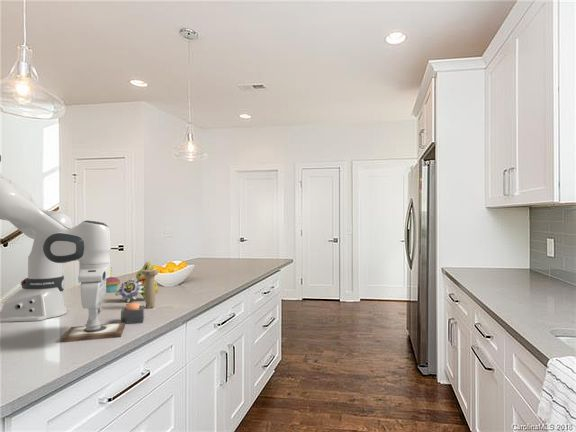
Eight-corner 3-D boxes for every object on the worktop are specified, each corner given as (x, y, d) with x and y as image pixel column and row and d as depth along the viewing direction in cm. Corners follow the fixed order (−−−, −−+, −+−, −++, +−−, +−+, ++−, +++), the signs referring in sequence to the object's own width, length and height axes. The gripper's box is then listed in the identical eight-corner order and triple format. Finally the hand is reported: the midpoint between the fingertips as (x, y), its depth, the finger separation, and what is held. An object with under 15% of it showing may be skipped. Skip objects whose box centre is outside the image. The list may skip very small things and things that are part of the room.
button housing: (120, 324, 128) (120, 311, 128) (123, 319, 134) (123, 306, 134) (142, 322, 130) (142, 309, 130) (143, 317, 137) (143, 305, 137)
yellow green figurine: (138, 291, 188) (138, 261, 188) (160, 291, 187) (160, 261, 187) (132, 293, 181) (132, 262, 181) (154, 294, 180) (154, 262, 181)
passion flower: (128, 314, 163) (110, 293, 159) (133, 304, 173) (116, 284, 170) (150, 299, 163) (133, 278, 160) (154, 290, 174) (137, 270, 171)
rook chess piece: (103, 327, 120) (103, 301, 120) (97, 331, 115) (97, 305, 115) (89, 327, 120) (89, 302, 120) (82, 331, 115) (82, 305, 115)
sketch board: (61, 342, 110) (61, 337, 110) (70, 330, 121) (70, 326, 121) (120, 336, 114) (120, 331, 114) (124, 326, 126) (124, 321, 126)
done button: (125, 314, 129) (125, 305, 130) (126, 311, 134) (126, 303, 134) (139, 313, 131) (139, 305, 131) (139, 310, 135) (139, 302, 135)
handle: (155, 309, 150) (155, 271, 150) (139, 308, 151) (139, 271, 151) (160, 306, 155) (160, 269, 155) (145, 305, 155) (145, 269, 156)
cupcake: (102, 290, 190) (102, 266, 190) (121, 289, 193) (121, 265, 193) (99, 293, 182) (99, 268, 182) (118, 292, 185) (118, 268, 185)
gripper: (90, 268, 127) (90, 309, 127) (76, 277, 107) (76, 326, 107) (110, 267, 129) (110, 308, 129) (101, 276, 109) (101, 324, 109)
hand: (95, 316), depth 118 cm, fingers open, 5 cm apart
